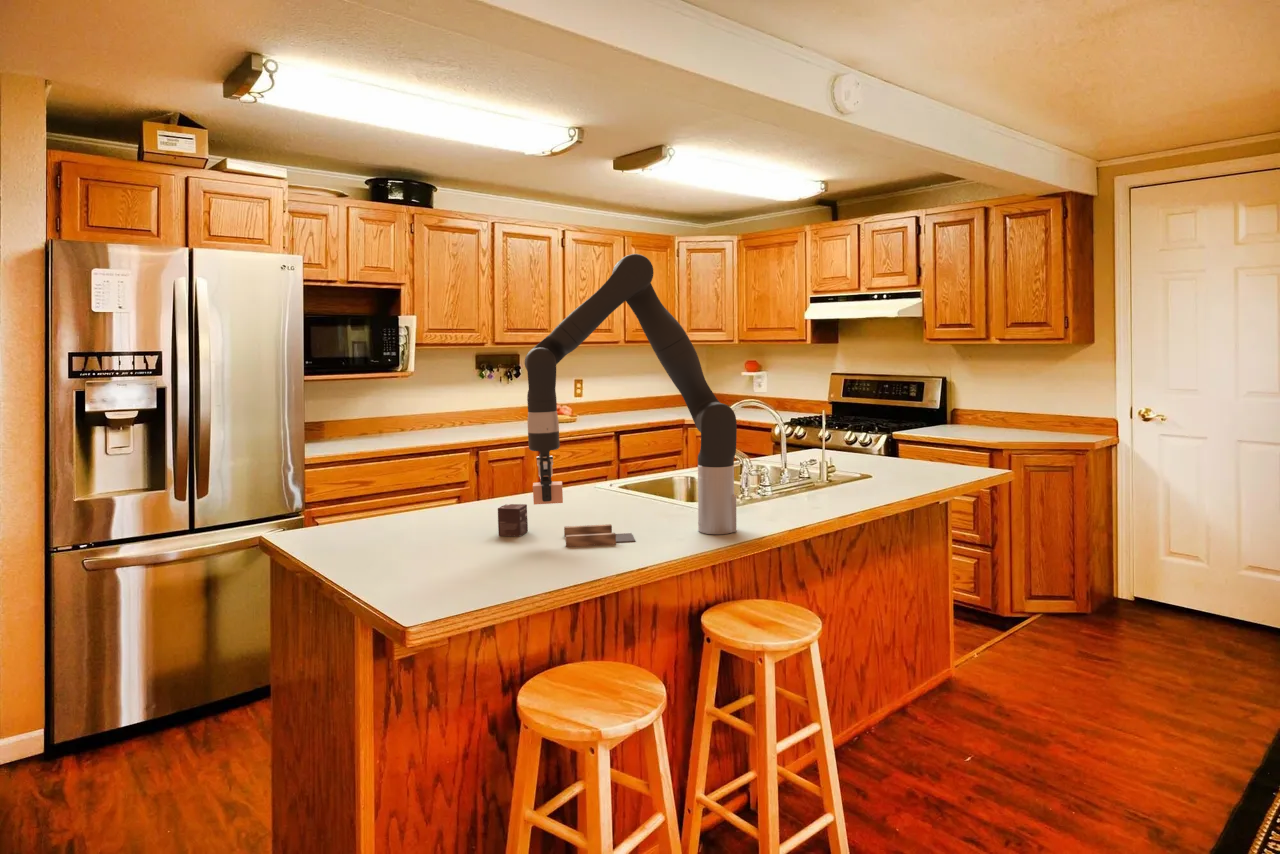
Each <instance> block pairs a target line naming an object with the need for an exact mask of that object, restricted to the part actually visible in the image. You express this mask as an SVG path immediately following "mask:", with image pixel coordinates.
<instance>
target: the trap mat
mask: <svg viewBox="0 0 1280 854" xmlns="http://www.w3.org/2000/svg"><path fill="white" fill-rule="evenodd" d="M615 534H616V544H618V543H619V544H620V543H635V542H636V539H635V537H634V535H633V534H632V532H630V533H629V532H627V533H626V532H625V533H615Z"/></svg>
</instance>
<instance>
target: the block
mask: <svg viewBox="0 0 1280 854" xmlns="http://www.w3.org/2000/svg"><path fill="white" fill-rule="evenodd" d="M563 493H564V492H563V481H552V484H551V498H552V500H551V501H545V502H544V501H543V500H542V486H541V483H540V481H539V482H533V483H532V495H533V496H532V498H533V499H532V500H533V505H552V504H563V503H564V496H563Z"/></svg>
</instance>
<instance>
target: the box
mask: <svg viewBox="0 0 1280 854" xmlns="http://www.w3.org/2000/svg"><path fill="white" fill-rule="evenodd" d="M497 524H498V525H497V527H498V529H497V530H498V531H497V532H498V536H499V537H521V536H523V535H525V534H526V533H528V532H529V531H528V530H529V529H528V528H529V526H528V504H526V503H525V504H523V503H522V504H521V503H519V504H518V503H517V504H516V503H515V504H514V503H508V504H507V503H506V504H504V505H501V506H499V507H498V508H497Z"/></svg>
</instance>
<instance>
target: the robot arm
mask: <svg viewBox="0 0 1280 854" xmlns="http://www.w3.org/2000/svg"><path fill="white" fill-rule="evenodd" d="M653 279H654V267H653V264H652V262H651V260H650V259H649V258H647V256H645V255H643V254H639V253H631V254H628V255H626V256H623V257H622V258H621V259H620V260H619V261H617V262H616V263H615V265H614V267H613V269H612V273H611V275H610V276H609V277H608V279H607V280H606V282H605V283H604V284H602V285H601V287H600V288H598V289H597V290H596V292H594V294H592V295H591V296H589V298H587V299H586V300H585V301H584V302H582V303H581V304H580V305H579V306H577V308H576V307H575V309H573V310H572V311H571V312H570V313H569V314H568V315H567V316H566V317H565V318H564V319H563V320H562V321H561V322H559V324H558V325H556V327H555V328H553V330H552V331H551V333H549V334H548V335H547V336H545V338H543V339H542V340H541V341H539V342H538V343H537V344H536V345H534V347H533V348H531V349H530V350H529V351H528V352H527V354H526V356H525V357H524V367H525V369H526V371H527V383H528V391H527V395H526V396H527V397H526V398H527V399H526V400H527V401H526V402H527V441H528V442H527V443H528V450H530V451H532V452H539V456H536V465H537V467H538V468H537V469H538V477H539V479H540V481H539V482H540V483H541V486H542V500H543V501H544V502H545V501H551V500H552V498H551V484H552V482H553V481H552V477H553V475H554V472H553V471H554V470H553V468H554V467H553V465H554V457H553V456H554V455H550V452H551V451H556V450H558V449H560V447H561V444H560V443H561V442H560V423H559V421H560V420H559V417H558V407H557V406H558V404H557V393H556V383H557V365H558V364H559V363H560V362H561V361H562V360H563V359H564V358H565V357H566V356H568V354H571V353H572V352H573V351H575V350H576V349H577V348H578V347H579V346H580V345H581V344H582V343H583V342H584V341H586V340H587V338H589V337H590V335H591V334H593V332H595V330H597V329H598V328H599V327H600V326H601V324H603V322H604V321H605V320H607V318H608V317H609V316H610V315H611V314H612V313H613V312H614V311H616V309H617V308H619V307H620V306H621V305H622V304H624V303H625V302H626V304H627V305H628V307H629V308H630V309H631V310H632V312H633V313H634V315H635V316H636V319H637V321H638V323H639V325H640V327H641V330H642V331H643V333H644V335H645V338H646V339H647V340H648V342H649V344H650V346H651V348H652V350H653V352H654V354H655V355H656V357H657V359H658V361H659V362H660V364H661V366H662V367H663V369H664V370H665V372H666V373H667V375H668V377H669V379H670V381H672V383H673V384H674V386H675V387H676V389H677V390H678V391H679V393H680V394H681V396H682V398H683V400H684V403H685V405H686V407H687V408H688V411H689V414H690V416H691V418H692V420H693V423H694V425H695V427H696V429H697V431H698V432H699V433H700V450H699V452H698V454H697V496H698V497H697V505H698V506H697V510H698V511H697V512H698V513H697V514H698V515H697V516H698V517H697V518H698V522H697V524H698V525H697V526H698V532H700V533H702V534H706V535H707V534H708V535H727V534H731V533H738V532H737V531H738V530H737V495H736V494H735V456H736V452H737V439H738V438H737V435H738V433H737V431H738V430H737V427H738V426H737V423H738V422H737V417H736V413H735V412H734V410H733V409H732V407H731V406H729V404H728V405H727V404H725V403H721V402H720V401H719V399H718V398H717V396H716V395H715V393H714V392H713V390H712V389H711V388H710V386H709V384H708V382H707V380H706V378H705V376H704V375H705V374H704V372H703V368H702V365H701V362H700V359H699V356H698V353H697V351H696V349H695V346H694V345H693V343H692V342H691V341H692V340H690V338H689V336H688V334H687V333H686V331H685V329H684V327H682V325H681V324H680V323H679V322H678V320H677V319H676V318H675V317H674V315H672V313H670V311H669V310H668V309H667V308H666V307H665V306H664V305H663V303H662V302H661V300H660V299H659V297H658V295H657V293H656V291H655V289H654V287H653V285H652V281H653Z"/></svg>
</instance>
